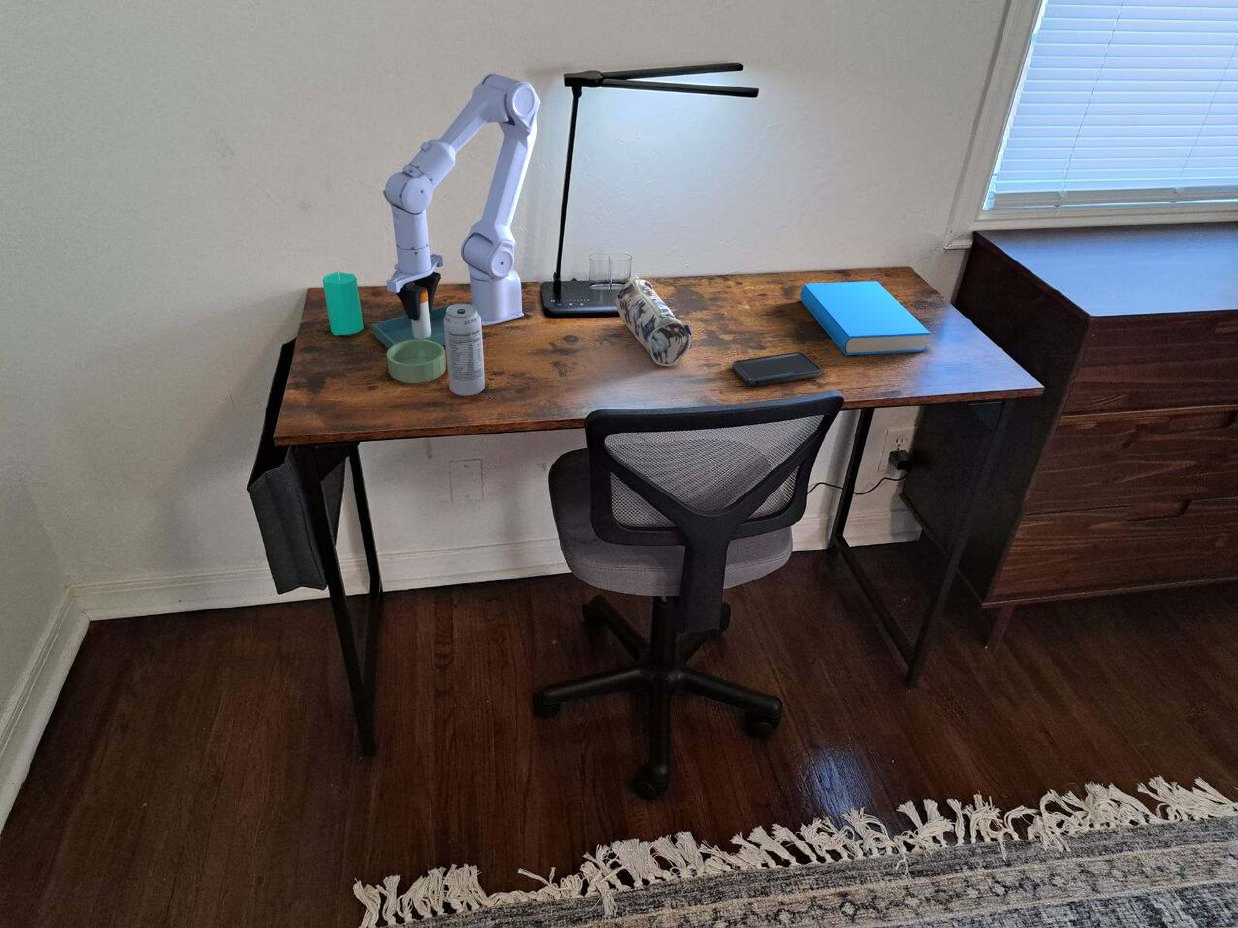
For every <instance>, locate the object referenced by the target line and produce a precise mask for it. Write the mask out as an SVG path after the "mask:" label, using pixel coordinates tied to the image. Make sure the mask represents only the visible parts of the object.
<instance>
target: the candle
mask: <svg viewBox="0 0 1238 928" xmlns="http://www.w3.org/2000/svg"><path fill="white" fill-rule="evenodd" d="M322 286H323V291H324V296H325V298H324V299H325V303H326V310H327V315H328V320H329V321H328V322H329V326H330V331H331V333H332V335H334V336H339V335H340V336H341V335H345V336H346V335H353V334H357V333H359V332H360V331H362V330H364V329H365V326H364V320H363V312H362V306H361V299H360V293H359V285H358V278H357V276H356V275H355V274H354V273H348V272H347V273H346V272H342V271H339V269H337V271H336V272H335V271H334V272H332V273H328V274H327V275H325V276H324V277H323V278H322Z"/></svg>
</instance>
